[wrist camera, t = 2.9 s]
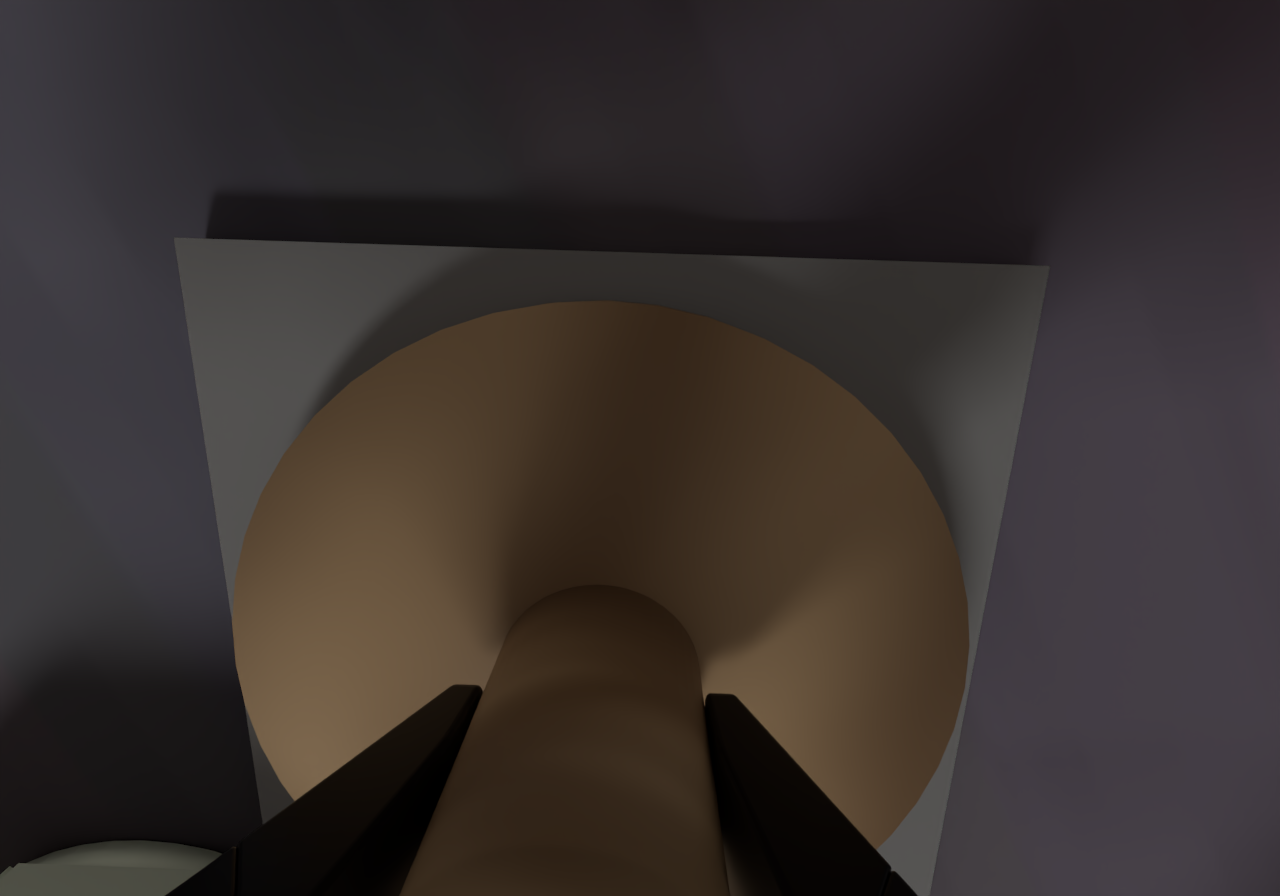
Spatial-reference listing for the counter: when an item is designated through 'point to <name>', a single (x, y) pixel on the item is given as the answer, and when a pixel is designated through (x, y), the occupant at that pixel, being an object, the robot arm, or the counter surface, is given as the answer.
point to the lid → (601, 592)
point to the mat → (702, 284)
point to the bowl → (107, 870)
